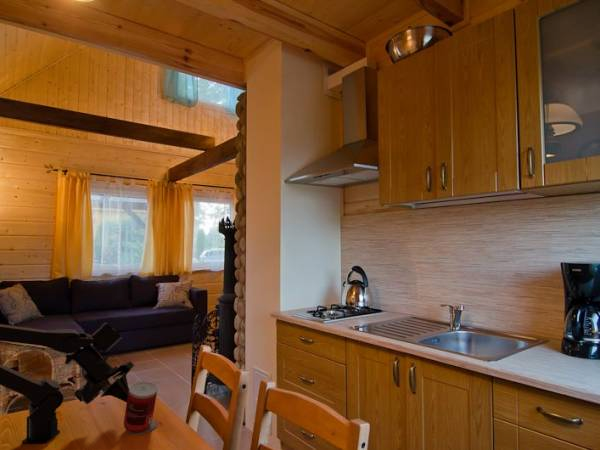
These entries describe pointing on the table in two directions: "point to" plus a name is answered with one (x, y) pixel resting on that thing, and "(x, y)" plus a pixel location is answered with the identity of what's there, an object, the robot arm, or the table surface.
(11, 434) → the table surface
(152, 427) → the coaster
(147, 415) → the canned food
